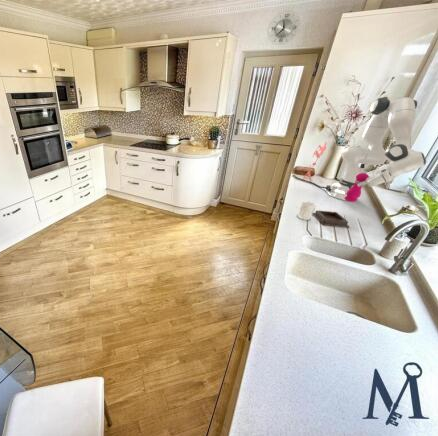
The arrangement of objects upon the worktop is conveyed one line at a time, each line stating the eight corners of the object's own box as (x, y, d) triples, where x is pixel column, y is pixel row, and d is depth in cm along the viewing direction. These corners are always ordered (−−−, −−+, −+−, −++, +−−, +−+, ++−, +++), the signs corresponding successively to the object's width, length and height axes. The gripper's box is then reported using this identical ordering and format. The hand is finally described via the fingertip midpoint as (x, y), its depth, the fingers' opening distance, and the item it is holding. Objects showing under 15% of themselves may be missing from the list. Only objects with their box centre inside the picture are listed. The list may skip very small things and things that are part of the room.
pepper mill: (359, 203, 150) (375, 173, 140) (346, 201, 151) (362, 172, 141) (353, 198, 156) (368, 169, 146) (341, 197, 157) (355, 168, 147)
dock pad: (311, 213, 160) (313, 209, 158) (334, 215, 159) (337, 211, 157) (323, 225, 147) (325, 220, 145) (348, 227, 146) (351, 222, 144)
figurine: (301, 182, 214) (317, 143, 197) (302, 174, 233) (317, 138, 216) (321, 185, 207) (339, 146, 190) (320, 177, 227) (337, 140, 209)
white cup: (309, 216, 157) (315, 203, 152) (310, 221, 150) (317, 208, 145) (296, 213, 159) (301, 200, 154) (297, 218, 153) (302, 205, 148)
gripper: (381, 164, 146) (354, 175, 155) (385, 172, 131) (355, 184, 141) (386, 172, 146) (359, 183, 155) (391, 181, 131) (360, 192, 141)
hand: (357, 183), depth 148 cm, fingers closed on pepper mill, 5 cm apart
